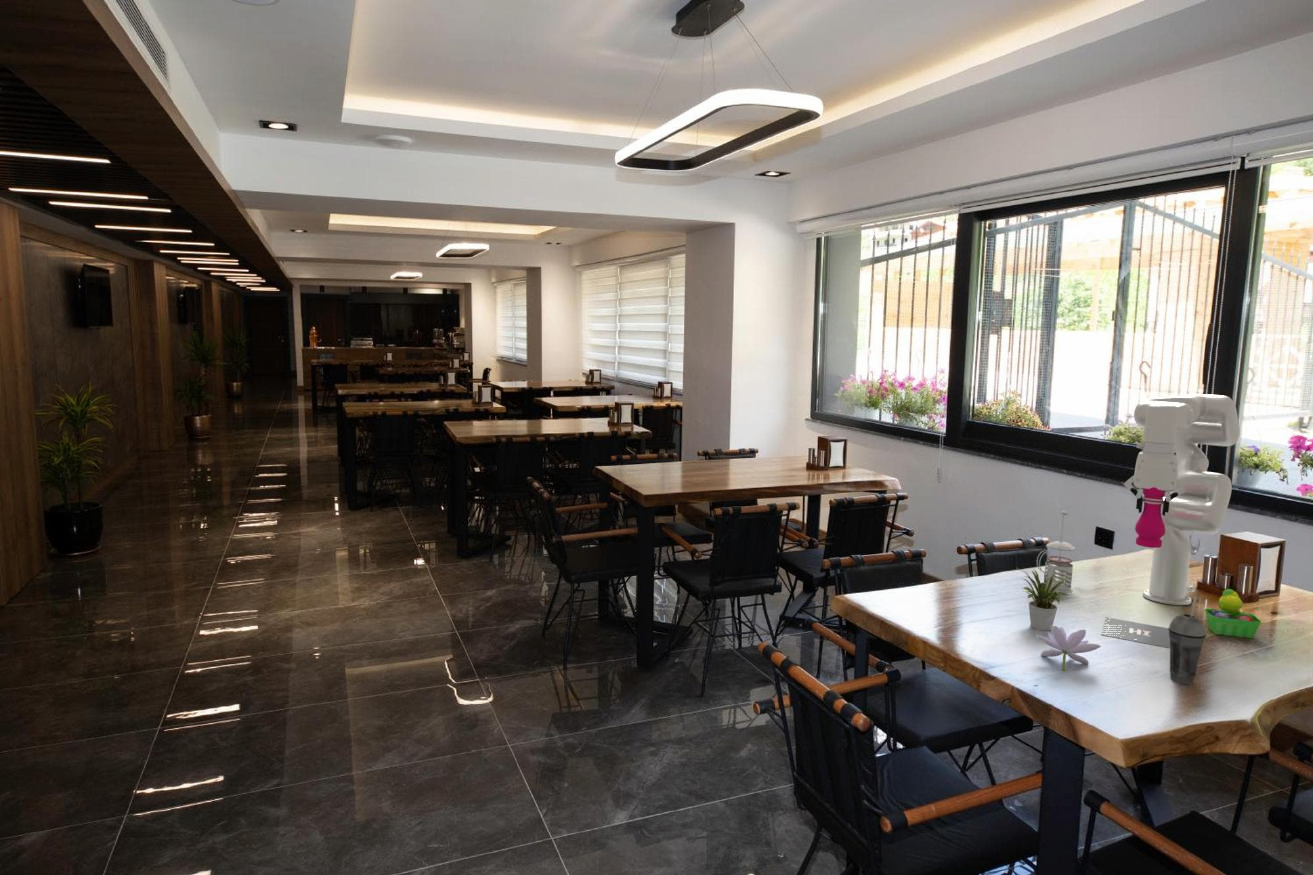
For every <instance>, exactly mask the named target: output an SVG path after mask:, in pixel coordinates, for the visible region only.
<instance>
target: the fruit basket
mask: <svg viewBox="0 0 1313 875" xmlns="http://www.w3.org/2000/svg"><path fill="white" fill-rule="evenodd" d="M1243 606H1244V604H1243V601H1242V600H1241V598H1240V595H1239V594H1238V593H1237V592H1236V591H1234V590H1233V589H1230V588H1226V589H1224V590H1223V592H1222V595H1221V597H1219V600H1218V607H1219V609H1218V608H1217V609H1215V608H1205V609H1204V613H1205V615H1206V619H1207V626H1208V628H1209V629H1210V631H1212V632H1211V633H1213V634H1214V635H1223V636H1230V637H1231V636H1232V637H1240V638H1248V639H1254V637H1255V636H1256V633H1257V631H1258V629H1259V627H1260V625H1261V624H1262V620H1260V619H1259V617H1257V616H1256V615H1255V614H1254V613H1249V612H1243V611H1240V609H1241V608H1243Z"/></svg>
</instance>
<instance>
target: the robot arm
mask: <svg viewBox="0 0 1313 875" xmlns="http://www.w3.org/2000/svg"><path fill="white" fill-rule="evenodd" d="M1133 417H1134V418H1133V419H1134V421H1135V423H1136V424H1137V425H1138V426H1139V427H1141V428H1142V427H1144V431H1143V440H1142V441H1141V442H1137V443H1136V449H1137V448H1138V449H1140V450H1141V451H1140V452H1139V453H1138V454H1137V457H1136V462H1135V468H1134V474H1133V475H1132V476H1130V478H1129V479H1127V480H1126V481H1125V482H1124V483H1123V485H1124V487H1125V488H1126V489H1128V490H1129V491H1130V493H1132V495H1134V496H1135V498H1136V507H1135V509H1136V510H1138V514H1142V513H1143V511H1142V510H1143V505H1144V502H1143V495H1144V494H1143V489H1150V488H1152V487H1156V488H1157V489H1158V490H1161V491H1165V496H1163V499H1164V500H1163V504H1162V505H1161V517H1162V520H1163V522H1164V525H1165V534H1164V536H1162V537H1161V538H1160V539H1161V540H1162V547H1160V548H1152V549H1153V551H1152V559H1151V570H1150V576H1149V579H1150V580H1149V587H1148V588H1147V589H1145V590H1143V591H1142V596H1143V597H1144V598H1146V599H1147V600H1150V601H1153V602H1155V603H1160V604H1165V605H1172V606H1187V605H1190V604H1192V598H1191V597H1190V596H1189V595H1188V594H1189V593H1194V592H1196V589H1197V588H1196V586H1194V585H1188V578H1189V570H1190V561H1191V560H1190V559H1191V553H1192V552H1191V551H1192V545H1191V541H1190V539H1189V538H1188V536H1187V535H1186V533H1185V532H1193V533H1200V534H1205V535H1206V534H1207V535H1215V534H1217V533H1219V532H1220V531H1221V528H1222V527H1223V525H1224V520H1225V516H1226V513H1227V510H1228V506H1229V503H1230V499H1231V495H1232V491H1233V490H1232V489H1233V488H1232V487H1233V486H1232V480H1231V479H1230V477H1229V476H1227V475H1226V474H1223V473H1220V472H1214V471H1213V472H1212V471H1208V467H1209V464H1210V463H1209V462H1210V461H1209V459H1208V457H1207V456H1206V454H1205V453H1204V451H1203V450H1202V449H1200V447H1198V446H1197V445H1207V446H1217V447H1231V446H1234V445H1235V444H1236V443H1237V442H1238V441H1239V437H1240V434H1241V433H1240V432H1241V431H1240V422H1239V417H1238V411H1237V407H1236V404H1235V402H1234V401H1233V399H1232V398H1231V397H1230V396H1227V395H1220V394H1203V393H1189V394H1185V395H1182V396H1171V397H1161V398H1159V397H1158V398H1147V399H1143V400H1141V401H1139V403H1138V404H1137V405H1136V406H1135V409H1134V411H1133ZM1132 484H1133V485H1132ZM1184 531H1185V532H1184Z"/></svg>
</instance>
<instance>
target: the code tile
mask: <svg viewBox="0 0 1313 875" xmlns="http://www.w3.org/2000/svg"><path fill="white" fill-rule="evenodd" d="M1106 618H1107V619H1106ZM1109 618H1111V619H1109ZM1107 620H1110V621H1107ZM1104 622H1107V623H1103V627H1108V626H1104V624H1105V625H1106V624H1109V625H1117V626H1110V627H1116V628H1109V629H1117V630H1109V631H1117V632H1107V633H1113V634H1106V635H1111V636H1110V637H1109V638H1114V637H1115V638H1114V639H1121V640H1125V639H1126V641H1131V642H1135V641H1136V642H1135V643H1141V644H1145V643H1146V644H1147V645H1151V646H1155V647H1161V646H1162V648H1167V649H1170V638H1169V630H1168V629H1169V627H1161V626H1157V625H1151V624H1147V623H1140V622H1135V621H1130V620H1125V619H1119V618H1112V617H1108V616H1105V620H1104ZM1118 625H1122V626H1118ZM1125 625H1126V626H1125ZM1103 627H1102V630H1103V629H1108V628H1103ZM1117 627H1120V628H1117ZM1121 627H1122V628H1121ZM1118 629H1119V630H1118ZM1120 629H1122V630H1120ZM1103 631H1106V630H1103ZM1107 631H1108V630H1107ZM1118 631H1121V632H1118ZM1125 631H1126V632H1125ZM1102 633H1106V632H1102V631H1101V634H1100V635H1101V636H1104V635H1105V634H1102ZM1114 633H1115V634H1114ZM1116 633H1120V634H1116ZM1112 635H1113V636H1112ZM1114 635H1115V636H1114ZM1116 635H1117V636H1116ZM1121 635H1122V636H1121ZM1123 635H1124V636H1123ZM1120 637H1121V638H1120ZM1134 639H1137V640H1134ZM1139 641H1140V642H1139ZM1146 644H1145V645H1146Z"/></svg>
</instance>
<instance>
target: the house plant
mask: <svg viewBox="0 0 1313 875" xmlns="http://www.w3.org/2000/svg"><path fill="white" fill-rule="evenodd" d="M1016 569H1018V570H1020V571H1022V572H1024V573H1025V574H1026V575H1025V578H1026V577H1027V578H1028V579H1029V580H1030V581H1031V582H1030V581H1029V580H1027V579H1025V578H1023V580H1024V581H1026V582H1027V583H1028V585H1029V586H1030V587H1031V588H1030V587H1028V586H1025V587H1022V589H1023V592H1024V593H1026V594H1028V595H1027V599H1030V598H1032V599H1033V600H1031V601H1029V602H1028V609H1029V610H1028V611H1029V621H1030V627H1031V628H1033V629H1035V630H1039V631H1051V625H1052V626H1054V622H1055V618H1056V615H1057V610H1058V606H1057V605H1056V604H1054V601H1055V602H1057V603H1058V604H1060V602H1061V600H1060V597H1065V595H1067V594H1066V593H1065V594H1061V593H1063V592H1054V590H1055V589H1056V588H1057V587H1058V586H1059V585H1061V584H1062V583H1063V582H1064V581H1065V580H1067V579H1069V578H1071V577H1069V578H1065V579H1063V580H1061V581H1060V582H1059V583H1057V584H1056V585H1055V586H1054V587H1053V588H1052V589H1051V590H1050V587H1051V584H1052V581H1053V576H1054V575H1053V574H1052V576H1051V577H1050V581H1049V584H1048V586H1046V584H1047V581H1048V580H1049V579H1048V580H1047V581H1046V578H1047V574H1048V572H1049V571H1048V572H1047V574H1046V577H1045V581H1046V583H1045V581H1044V580H1043V582H1041V581H1040V577H1039V574H1038V572H1037V571H1036V570H1035V569H1034V568H1033V570H1031V573H1032V575H1033V577H1034V579H1033V578H1032V577H1030V575H1029V574H1028V573H1027V572H1026V571H1025V570H1023V569H1020V568H1018V567H1016ZM1031 583H1032V584H1031ZM1032 585H1033V586H1034V587H1033V586H1032ZM1034 589H1035V590H1034ZM1024 590H1025V591H1024ZM1049 590H1050V591H1049ZM1053 592H1054V593H1053Z"/></svg>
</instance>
